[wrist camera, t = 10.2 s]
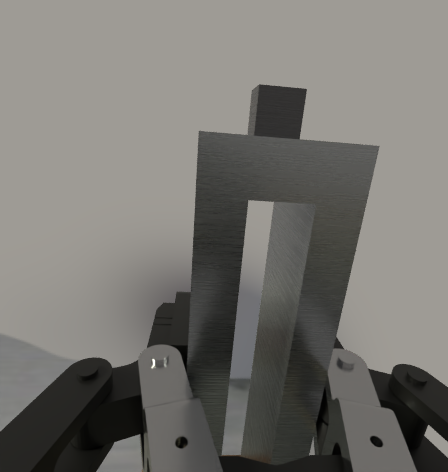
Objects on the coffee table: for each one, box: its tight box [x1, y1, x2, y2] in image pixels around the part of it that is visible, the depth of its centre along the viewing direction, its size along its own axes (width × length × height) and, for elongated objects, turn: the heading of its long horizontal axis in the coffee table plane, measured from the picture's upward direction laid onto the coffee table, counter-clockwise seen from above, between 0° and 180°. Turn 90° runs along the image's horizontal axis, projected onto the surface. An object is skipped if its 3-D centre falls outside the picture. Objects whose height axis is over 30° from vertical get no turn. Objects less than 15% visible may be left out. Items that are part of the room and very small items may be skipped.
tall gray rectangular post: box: [187, 85, 379, 465], centre depth 11 cm, size 4×4×17 cm
